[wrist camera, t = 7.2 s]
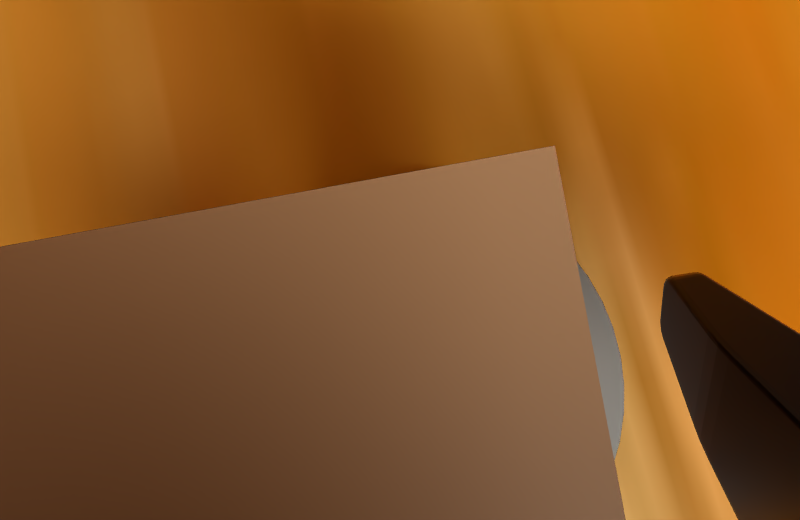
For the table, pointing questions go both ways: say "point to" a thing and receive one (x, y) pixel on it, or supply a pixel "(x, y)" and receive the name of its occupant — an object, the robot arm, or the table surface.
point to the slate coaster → (605, 359)
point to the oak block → (311, 359)
